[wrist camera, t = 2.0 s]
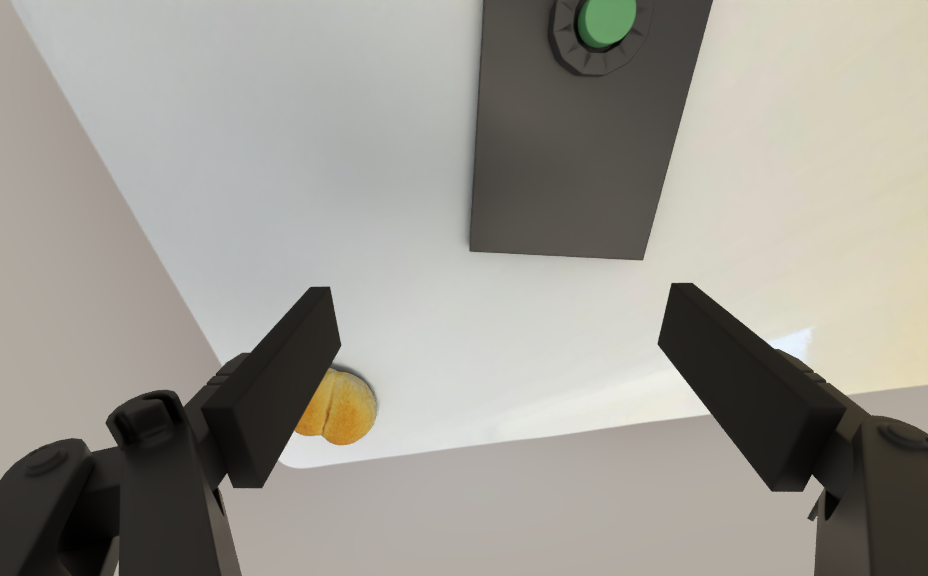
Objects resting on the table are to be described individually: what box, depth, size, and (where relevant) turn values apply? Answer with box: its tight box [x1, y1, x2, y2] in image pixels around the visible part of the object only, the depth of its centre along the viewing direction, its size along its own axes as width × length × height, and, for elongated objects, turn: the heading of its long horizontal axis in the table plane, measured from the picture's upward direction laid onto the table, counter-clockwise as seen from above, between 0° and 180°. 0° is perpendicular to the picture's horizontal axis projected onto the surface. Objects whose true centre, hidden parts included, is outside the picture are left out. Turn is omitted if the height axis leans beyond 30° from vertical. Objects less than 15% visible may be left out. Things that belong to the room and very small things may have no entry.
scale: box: [469, 0, 713, 260], centre depth 26 cm, size 18×14×3 cm
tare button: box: [578, 0, 636, 48], centre depth 22 cm, size 3×3×2 cm
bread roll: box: [294, 368, 377, 445], centre depth 37 cm, size 8×9×4 cm
